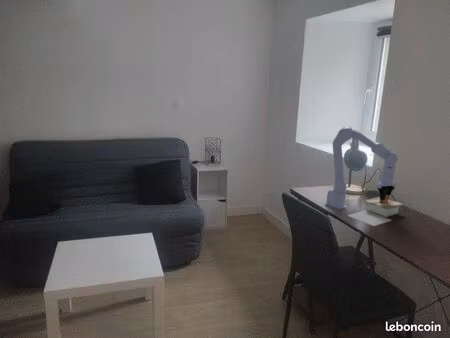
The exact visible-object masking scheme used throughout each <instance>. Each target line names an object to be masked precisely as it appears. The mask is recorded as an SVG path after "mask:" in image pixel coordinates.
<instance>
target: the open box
mask: <svg viewBox="0 0 450 338" xmlns="http://www.w3.org/2000/svg"><path fill="white" fill-rule="evenodd" d="M399 208H400V207H396V208H392V209H389V210H387V209H384V208H381V207H378V206H375V205H372V204H369V203H367V206H366V211H368V212H371V213H374V214H377V215H379V216H382V217H385V218H388V217H391V216H394V215H397V214H398V213H399Z"/></svg>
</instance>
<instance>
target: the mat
mask: <svg viewBox="0 0 450 338" xmlns="http://www.w3.org/2000/svg"><path fill="white" fill-rule="evenodd" d="M346 216H348V217H350V218H353V219H355V220H357V221H360V222H363V223H365V224H367V225H369V226H370V225H371V226H373V227H375V226H379V225H382V224H386V223H388V222H391V221H393V220H392V219H390V218H388V217H383V216H381V215H378V214H375V213H372V212H370V211H367V209H366V210H362V211H358V212H354V213H350V214H347V215H346Z"/></svg>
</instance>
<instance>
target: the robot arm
mask: <svg viewBox="0 0 450 338" xmlns="http://www.w3.org/2000/svg"><path fill="white" fill-rule="evenodd" d="M350 140H353V141H359V142H361V143H362V144H364V145H366V146H367V147H368V148H370V149H371V150H370V151H371V153H373V154H375V155H376V156H377V157H379V158H381V159H384V161H383V162H384V163H383V167H382V170H381V171H382V173H381V178H380V181H379V182H378V183H377V184H376V188H377V190H378V194H379V197H380V200H385V197H386V195H389V198H390V196H391V194H392V193H393V191H394V190H395V188H396V187H395V186H396V185H397V181H395V180H394V177H395V173H396V164H397V162H398V160H399V159H398V155H397V153H395V152H394V151H393V150H392V149H391V148H387V147H386V146H384V143H382V142H374V141H373V140H371V139H370V138H368V137H367V136H365V134H363V133H361V132H360V131H358V130H356V129H354V128H352V127H350V126H344V127H342V128H341V129H340V130H339V131H338V132H337V134H336V135H335V138H334V139H333V140H332V153H333V165H334V177H335V178H334V179H335V180H334V182H333V183H334V185H333V188H331V189H329V190H327V191H328V192H327V196H326V202H325V205H326V206H328V207H332V208H335V209H337V210H341V209H344V208H345V209H346V208H348V206H347V205H346V198H347V197H346V196H347V181H346V179H345V174H344V163H343V162H344V161H343V148H342V147H343V145H344V144H345V143H346V142H348V141H350ZM389 198H388V199H389ZM389 200H390V199H389Z"/></svg>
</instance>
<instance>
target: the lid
mask: <svg viewBox="0 0 450 338" xmlns="http://www.w3.org/2000/svg"><path fill="white" fill-rule="evenodd" d="M388 198H390V196H389V195H386V197H385V200H380V196H377V197H372V198H368V199H364V200H363V203H367V204H368V203H369V204H372V205H375V206H378V207H381V208H384V209H387V210H389V209H392V208H396V207H399V208H400V207H403V206H404V203H402V202H398V201H395V200H392V199H388Z"/></svg>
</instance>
